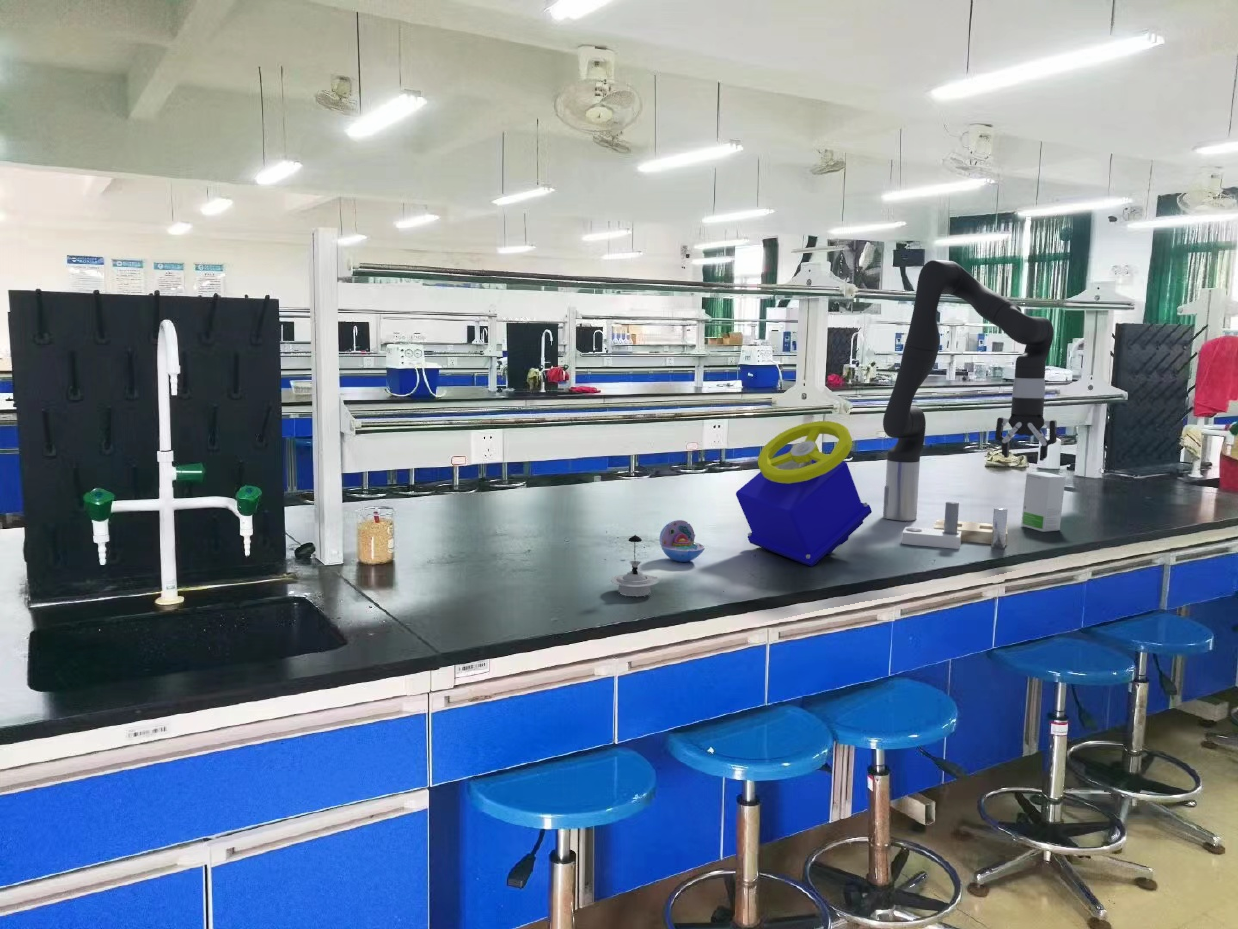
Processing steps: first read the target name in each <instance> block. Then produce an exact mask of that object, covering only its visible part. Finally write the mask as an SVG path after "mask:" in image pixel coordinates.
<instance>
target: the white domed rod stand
mask: <svg viewBox="0 0 1238 929" xmlns="http://www.w3.org/2000/svg"><path fill="white" fill-rule="evenodd" d="M642 541H643V540H642V538H641V537H640V536H637V535H636V534H634V535H633V536H630V537H629V538H628V542H630V543H634V544H633V546H634V547H633V548H634V549H633V550H634V551H633V552H634V553H633V554H634V556H633V557H634V560H631V561H629V562H628V563H629V564H630V565H631V568H632V569H631V571H630V570H629V571H628V572H627V573H623V574H619V575H615V576H612V577H611V579H610V582H611V583H612V584H613V585H617V586H618V593H619V592H620V593H622V594H626V595H644V594H648V593H649V592H650V593H651V589H652V588H651V587H652V586H655V585H657V584H658V583H659V582H660V580H659V578H658V576H653V575H649V574H643V572H642V571H638V570H639V569H638V568H639V567H638V566H639V565H640V564H641V563H642V562H641V561H638V560H636V543H641V542H642Z"/></svg>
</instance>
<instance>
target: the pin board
mask: <svg viewBox="0 0 1238 929" xmlns="http://www.w3.org/2000/svg"><path fill="white" fill-rule="evenodd" d="M944 523H945V519H936V521H935V523H934V526H933V529H940V530H944ZM992 529H993V523H986V522H973V521H961V520H958V528H957V531H962V532H961V542H969V543H976V544H977V543H979V544H988V545H989V544H992ZM1007 542H1008V524H1007V525H1006V539H1005V546H1007Z"/></svg>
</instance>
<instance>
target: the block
mask: <svg viewBox="0 0 1238 929" xmlns="http://www.w3.org/2000/svg"><path fill="white" fill-rule="evenodd" d="M944 508H945V510H944V520H945V523H944V530H940V529H934V528H929V527H928V528H925V527H913V526H905V527H904V528H903V531H902V533H901V544H902V545H909V546H911V545H912V546H921V547H934V548H945V549H946V548H947V549H956V550H960V548H961V543H962V541H961V532H962V531H957V528H958V521H959V511H960V510H959V509H960V503H959V502H956V501H946V502H945V507H944Z"/></svg>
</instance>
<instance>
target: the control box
mask: <svg viewBox="0 0 1238 929" xmlns="http://www.w3.org/2000/svg"><path fill="white" fill-rule="evenodd" d="M821 434H822V435H830V436H833V437H835V438H836V439H838V441H837V443H836V444H835V446H834V447H833V450H832V451H831V452H830V454H826V453H824V452H822V451H821V452H820V450H819V447H818V444H817V443H816V441H817V439H818V437H819V436H820V435H821ZM804 437H806V438H805V440H804V441H801V442H798V443H797V444H795V445H794V446H793V447H792V448H787V449H786V450H785V451H784V452H783V453H781V454H780V455H778V456H775V455H776V454H777V453H778V451H780V450H781V449H783V448H784V447H785V446H786V445H788V444H789V443H792V442H795V441H796V440H798V439H801V438H804ZM852 446H853V438H852V436H851V434H850V432H849V429H848V428H847V427H846V426H845V425H843V424H841V423H839V422H835V421H830V420H818V421H812V422H806V423H802V424H799V425H796V426H794V427H791V428H788V429H786V430H785V431H783V432H780V433H779V434H777V435H776V436H775V437H774V438H771V440H769V441H768V442H767V444H765V445H764V447H763V448H762V449H761V451H760V453H759V454H758V458H757V465H758V468H759V471H760V472H758V473H757V474H756V475H755V476H754V477H752V478H751V479H750V480H749V481H747V482H746V483H745V484H744V485H743V486H742V487H740V488H739V489H738V490H737V491H736V492H735V496H736V498H737V501H738V503H739V506H740V508H741V511H742V513H743V515H744V517H745V519H746V522H747V524H748V526H749V527H748V528H749V529H750V531H751V532H750V531H749V532H748V533H747V539H748V541H749V543H750V544H752V545H754V546H757V547H759V548H762V549H764V550H767V551H770V552H772V553H775V554H778V555H780V556H781V557H782V556H783V557H785V558H788V559H790V560H793V561H795V562H798V563H800V564H803V565H805V566H808V567H811V568H812V567H814V565H816V564H817V563H818V562H819V561H820V560H821V559H823V558H824V557H825V556H826V555H827V554H828V555H830V554H831V553H832V552H834V550H835V549H836V548H838V547H840V546H841V545H844V544H845V543H847V542H848V540H849V538H850V536H851V535H852V534H853V533H854V532H855V531H857V530H858V529H859V527H861V526H862V525H863V524H864V520H866V518H868V516H870V515H871V513H872V512H873V511H872V508H871V506H870V504H868V502H862V501H861V498H860V496H859V493H858V490H857V487H856V484H855V482H854V479H853V476H852V473H851V470H850V469H849V464H848V462H846V461H844V460H845V459H846V458H847V457H848V455H849V454H850V452H851V450H852Z"/></svg>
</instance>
